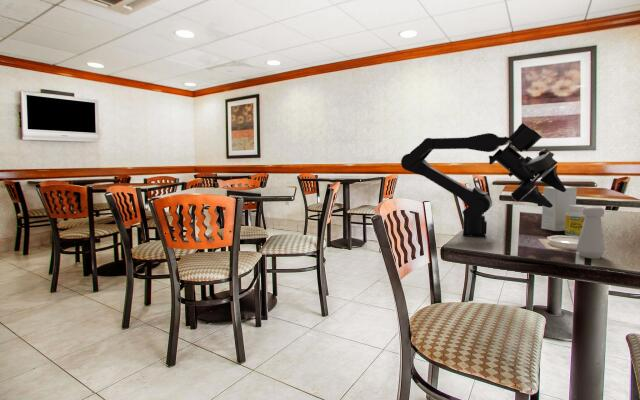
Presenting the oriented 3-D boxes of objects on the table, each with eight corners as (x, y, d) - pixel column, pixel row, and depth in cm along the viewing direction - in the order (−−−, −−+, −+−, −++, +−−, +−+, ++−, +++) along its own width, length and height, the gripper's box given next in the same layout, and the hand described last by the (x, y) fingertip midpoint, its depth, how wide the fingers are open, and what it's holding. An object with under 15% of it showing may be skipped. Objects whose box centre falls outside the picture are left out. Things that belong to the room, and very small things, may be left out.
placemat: (546, 249, 101) (546, 248, 101) (537, 239, 112) (537, 238, 112) (608, 253, 96) (608, 252, 96) (592, 243, 107) (592, 241, 107)
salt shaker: (609, 261, 89) (613, 208, 88) (583, 260, 90) (586, 208, 89) (596, 255, 95) (600, 205, 93) (571, 254, 96) (575, 204, 94)
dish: (552, 248, 101) (552, 242, 100) (543, 239, 111) (544, 234, 111) (600, 251, 97) (601, 245, 97) (587, 241, 107) (587, 236, 107)
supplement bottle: (581, 234, 119) (583, 204, 117) (587, 237, 114) (590, 206, 112) (562, 233, 120) (564, 204, 119) (567, 236, 115) (569, 206, 114)
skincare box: (560, 227, 129) (562, 185, 127) (575, 230, 123) (578, 186, 121) (540, 229, 127) (542, 186, 125) (554, 232, 122) (557, 187, 120)
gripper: (516, 160, 100) (565, 200, 96) (546, 132, 109) (592, 167, 105) (493, 183, 110) (536, 220, 105) (522, 156, 118) (564, 189, 114)
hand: (558, 198), depth 107 cm, fingers open, 9 cm apart
